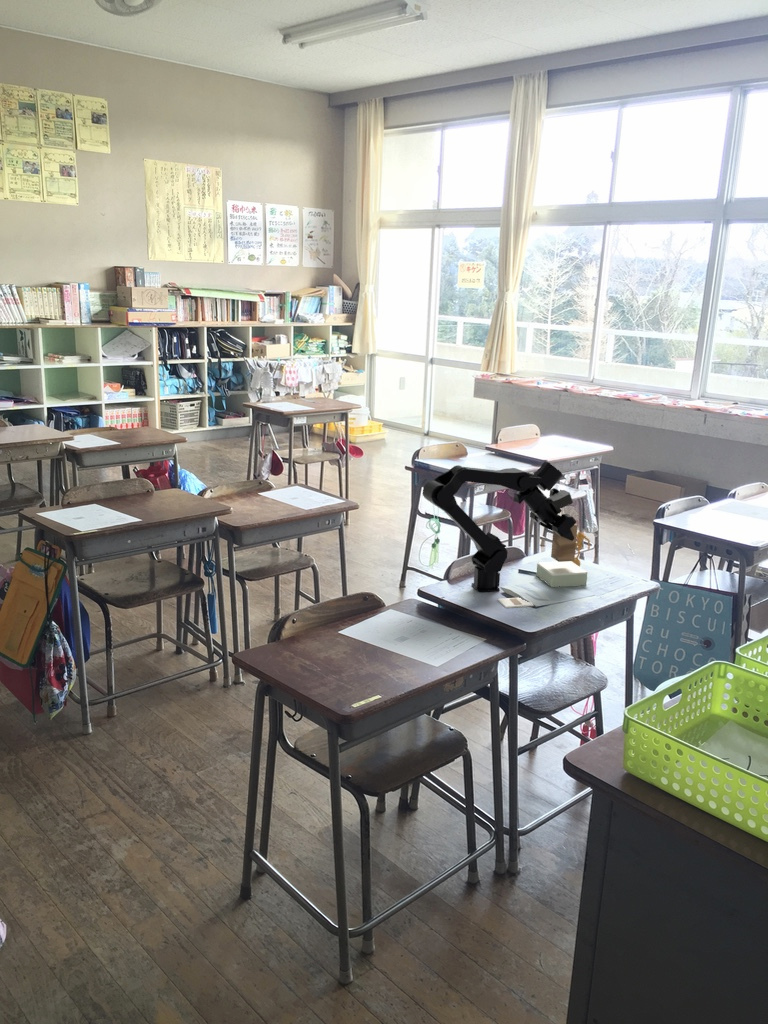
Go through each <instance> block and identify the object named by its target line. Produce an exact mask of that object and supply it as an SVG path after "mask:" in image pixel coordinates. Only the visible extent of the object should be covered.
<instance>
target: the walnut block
mask: <svg viewBox="0 0 768 1024" xmlns="http://www.w3.org/2000/svg"><path fill="white" fill-rule="evenodd" d="M554 523H555V522H554ZM571 531H572V534H573V536H574V540H573V541H571V540H569V539H566V538H564V537H561V536H559V535H557V534H555V533H553V532H554V531H552V541H551V542H552V543H551V552H550V553H551V554H550V557H551V558H552V559H554V560H555V561H556V562H557V561H558V562H566V561H574V559H575V558H576V556H575V555H576V554H575V551H576V549H577V548H576V543H577V534H578V524H577V523H575V524H574V526H573V527H572V528H571ZM575 548H576V549H575Z"/></svg>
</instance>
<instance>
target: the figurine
mask: <svg viewBox="0 0 768 1024" xmlns="http://www.w3.org/2000/svg"><path fill="white" fill-rule="evenodd" d="M584 540H585V541H587V546H588V547H587V550H588V551H590V550H591V549H590V547H591V546H590V545H591V543H590V542H591V540H590V538H588V537H587V536H586V535H585V533H584V532H582V531H577V537H576V548H575V555H576V553H577V556H575V559H574V561H572V562H573V563H575V564H576V565H578V566H579V567H581V561H580V559H579V557H580V553H581V549H582V547H583V545H584V544H583V543H582V542H583V541H584ZM576 549H577V552H576Z"/></svg>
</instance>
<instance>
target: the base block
mask: <svg viewBox="0 0 768 1024" xmlns="http://www.w3.org/2000/svg"><path fill="white" fill-rule="evenodd" d="M535 574H536V576H537V577H538V578H539V579H540V580H542V581H543V580H544V581H543V582H545V581H546V582H547V583H548V584H549V585H548V584H547V583H546V582H545V583H546V584H547V585H548V586H550V587H551V588H559V586H560V587H577V586H578V587H579V586H587V583H588V571H587V570H585V569H583V567H581V566H580V567H579V566H578V565H576V564H575V563H573V562H572V561H566V562H558V561H557V560H556V561H543V562H540V561H539V562H537V564H536V573H535Z"/></svg>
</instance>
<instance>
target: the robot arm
mask: <svg viewBox="0 0 768 1024" xmlns="http://www.w3.org/2000/svg"><path fill="white" fill-rule="evenodd" d="M562 478H564V477H563V473H562V472H561V470H559V469H557V468H556V467H555V466H554V465H553V464H551V462H550V461H544V462H542V464H541V465H540V467H539V468H538V469H537V470H536V471H535V472H534V473H530V472H527V471H524V470H521V469H519V468H515V467H512V468H511V467H510V468H509V467H508V468H503V469H497V470H495V469H487V468H476V467H470V466H469V467H468V466H462V465H454V466H453V467H451V468H450V469H449V470H448V471H446V472H444V473H442V474H439V475H437V476H436V477H435V478H433V480H429V481H428V482H426V483H425V484H424V486H423V488H422V496H423V497H424V499H425V500H427V501H428V502H430V503H431V504H432V505H434V506H436V507H437V508H439V509H440V510H442V511H443V512H444V513H445V514H446V515H447V516H448V517H449V518H450V519H451V520H452V521H453V522H454V523H455V524H456V525H457V526H458V527H459V529H461V530H462V531H463V533H464V534H465V535H466V536H467V537H468V538H469V539H470V540H471V541H472V542H473V543H474V547H475V548H476V550H477V551H476V552H475V553H474V554H473V555H472V556H471V562H472V564H473V565H474V571H473V573H474V574H473V582H472V583H471V586H472V587H473V588H474V589H475V590H476V591H477V592H479V593H483V592H484V593H485V592H498V591H500V588H499V587H500V580H501V579H500V578H501V577H500V576H501V573H500V572H501V571H502V569H503V566H504V563H505V561H506V560H507V558H508V554H509V553H508V550H507V545H505V544H504V543H503V542H502V541H501V539H500V538H499V537H498V536H496V535H495V534H493V533H491V532H489V531H487V533H486V532H484V531H483V529H482V528H481V527H480V526H479V525H478V524H477V523H476V522H475V521H474V520H473V519H472V518H471V517H470V516H469V515H468V514H467V513H466V512H465V510H463V508H462V507H461V506H460V505H459V504H458V501H457V499H456V497H455V495H456V494H457V493H458V492H459V490H460V488H461V487H462V485H463V484H465V483H475V484H486V485H493V486H502V487H505V488H507V489H510V490H513V491H517V492H514V493H513V499H512V500H513V503H516V504H519V505H520V504H521V503H522V502H523V503H524V504H525V505H526V506H527V507H528V510H529V511H530V512H529V518H530V519H531V520H532V521H533V522H535V523H536V524H539V525H540V527H541V526H542V527H543V528H545V529H548V530H549V531H552V534H553V533H555V534H557V535H559V536H561V537H564V538H566V539H569V540H571V541H573V540H574V536H573V534H572V531H571V528H572V527H573V526H574V524H577V520H576V519H575V518H574V516H571V515H570V514H569V513H562V512H563V510H562V508H563V509H564V508H565V507H566V506H569V505H572V504H573V503H574V502H573V499H572V495H571V493H570V492H569V491H567V490H565V489H557V488H556V487H555V485H556V484H557V483H558V482H559V481H560V480H561V479H562ZM546 490H547V491H549V497H547V496H546V495H545V494H544V493H543V492H545V491H546ZM560 513H562V514H561V515H560ZM554 522H555V523H554ZM553 531H554V532H553Z"/></svg>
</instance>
